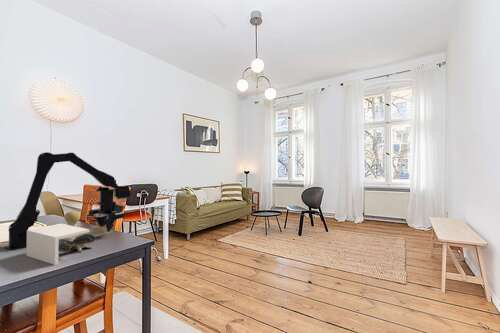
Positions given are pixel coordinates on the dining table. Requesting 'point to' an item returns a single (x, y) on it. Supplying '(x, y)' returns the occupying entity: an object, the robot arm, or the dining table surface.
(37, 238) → the low shelf
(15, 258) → the dining table surface
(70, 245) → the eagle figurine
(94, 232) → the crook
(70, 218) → the light bulb
